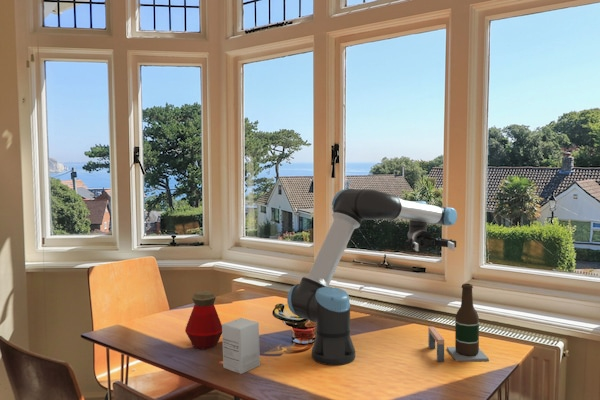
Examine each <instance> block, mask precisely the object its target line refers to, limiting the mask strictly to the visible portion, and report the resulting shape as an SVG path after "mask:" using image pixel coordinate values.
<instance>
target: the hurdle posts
mask: <svg viewBox="0 0 600 400" xmlns="http://www.w3.org/2000/svg"><path fill="white" fill-rule="evenodd" d="M427 333H428V336H427V337H428V338H427V339H428V341H427V342H428V348H429V350H436V360H437V362H438V363H440V362H441V363H443V362H444V363H445V343H444V344H438V343H437V342H436V340H435V339H434V338H433V336H432V335H431V334H430V332H429V331H427Z"/></svg>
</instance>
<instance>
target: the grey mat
mask: <svg viewBox="0 0 600 400" xmlns="http://www.w3.org/2000/svg"><path fill="white" fill-rule="evenodd" d="M446 350H447V352H448V353H449V355H451V357H452V358H453V359H454V361H455V362H489V361H490V360H489V359H490V358H489V357H488V356H487V355H486V354H485V352H483V351H482V350H481V348H479V352H478V354H477V355H476V356H464V355H460V354H458V353H457V352H456V347H455V346H446Z"/></svg>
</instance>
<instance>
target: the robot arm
mask: <svg viewBox="0 0 600 400" xmlns="http://www.w3.org/2000/svg"><path fill="white" fill-rule="evenodd" d="M331 206H332V207H331V209H332V215H331V216H332V217H333V218H332V219H333V222H332V223H331V226H330V228H329V230H328V232H327V234H326V236H325V238H324V241H323V242H322V245H321V246H320V248H319V251H318V252H317V255H316V257H315V259H314V262H313V264H312V266H311V268H310V271H309V272H308V274H306V275H304V276H302V278H301V280H300V282H299V283H297V284H295V285H293V286H291V287H290V289H289V291H288V293H287V299H286V300H287V301H286V302H287V307H288V309H289V311H290V312H291V313H292V314H293V315H295V316H297V317H299V318H301V319H306V320H307V321H311V322H313V323H316V328H315V329H316V331H315V332H316V334H315V339H314V343H313V346H312V349H311V359H312V360H313V361H315V362H316V363H319V364H322V365H328V366H339V365H346V364H349V363H351V362H353V361H354V360H356V350H355V346H354V342H353V340H352V337H351V302H350V296H349V293H348V292H347V291H346V290H344V289H342V288H339V287H332V286H330V284H331V281H332V279H333V277H334V275H335V272H336V270H337V268H338V266H339V263H340V262H341V259H342V257H343V254H344V252H345V250H346V248H347V246H348V243H349V242H350V239H351V237H352V235H353V233H354V231H355V230H357V229H358V228H360V227H361V224H362V222H363V220H367V221H369V220H370V221H373V220H375V221H376V220H377V221H379V220H390V221H394V220H396V219H399V220H407V221H408V222H409V223H408V225H409V226H408V227H409V228H408V232H407V238H408V239H407V240H406V241H404V248H405V249H408V248H409V250H410V251H413V250H414V251H416V252H419V249H420V250H423V251H425V250H429V249H430V248H431V247H434V248H437V247H440V248H441V247H443V248H448V249H449V250H450V251H453V252H454V251H455V248H457V240H453V239H447V238H444V237H443V238H442V237H440V238H437V237H434V236H433V235H432V234H431V233H430V232H428V231H427V227H428V225H427V224H429V225H440V226H453V225H455V223H456V222H457V220H458V219H457V218H458V212H457V210H456V209H455V208H453V207H448V206H446V207H445V206H439V205H434V204H428V203H427V201H422V200H414V201H412V200H407V199H402V198H400V197H399V196H397V195H394V194H390V193H387V192H384V191H380V190H377V189H370V188H369V189H368V188H367V189H365V188H362V189H361V188H351V187H350V188H344V189H340V190H339V191H338V192H337V193H336V194H335V195H334V196H333V198H332V202H331Z"/></svg>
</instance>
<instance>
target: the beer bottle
mask: <svg viewBox="0 0 600 400" xmlns="http://www.w3.org/2000/svg"><path fill="white" fill-rule="evenodd" d="M473 288H474V285H473V284H471V283H462V285H461V291H462V292H461V303H460V308H458V309H457V312H456V314H455V327H454V328H455V329H454V330H455V332H454V335H455V337H454V338H455V340H454V342H455V344H454V345H455V346H454V347H456V352H457V353H458V354H460V355H464V356H476V355H477V354H478V352H479V349H480V320H479V315H478V311H477V310H476V309H475V308H474V300H473V299H474V298H473Z"/></svg>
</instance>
